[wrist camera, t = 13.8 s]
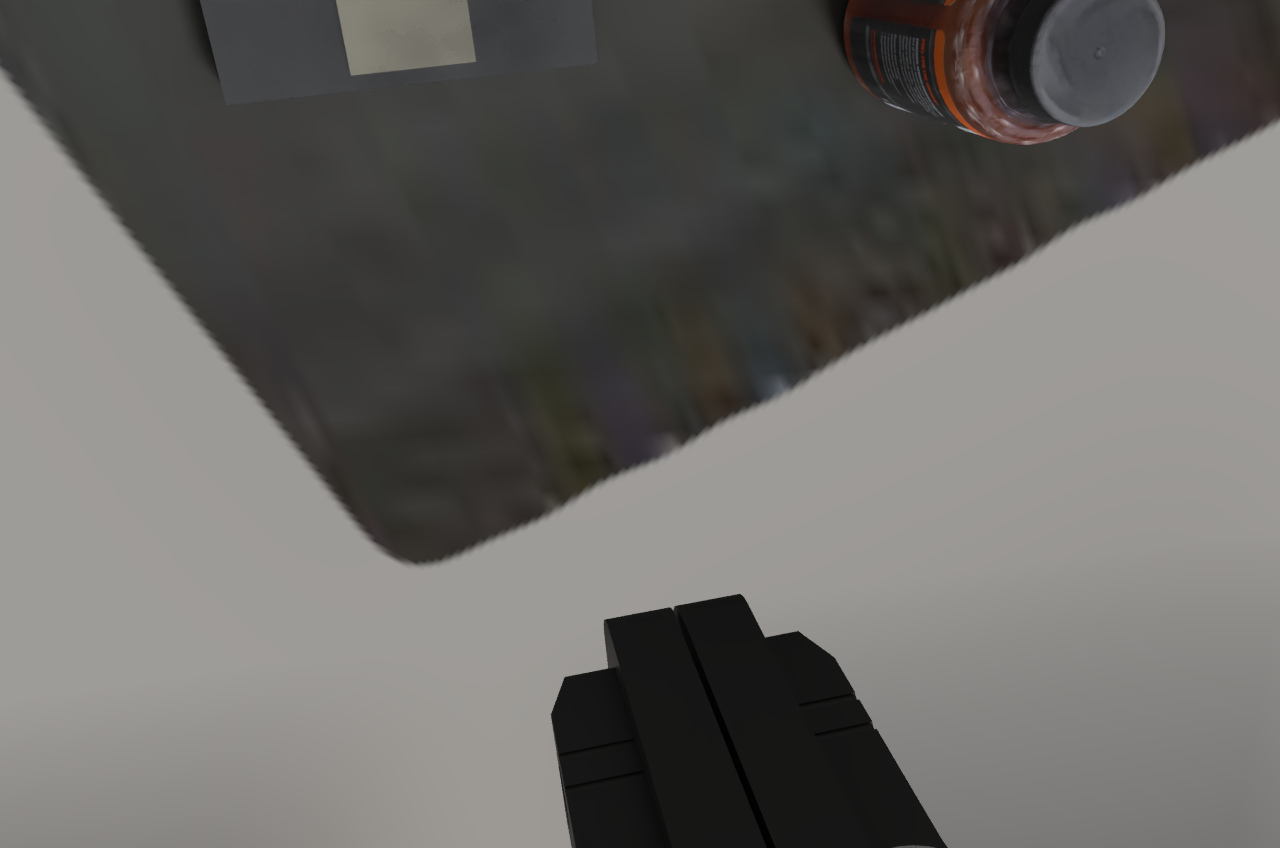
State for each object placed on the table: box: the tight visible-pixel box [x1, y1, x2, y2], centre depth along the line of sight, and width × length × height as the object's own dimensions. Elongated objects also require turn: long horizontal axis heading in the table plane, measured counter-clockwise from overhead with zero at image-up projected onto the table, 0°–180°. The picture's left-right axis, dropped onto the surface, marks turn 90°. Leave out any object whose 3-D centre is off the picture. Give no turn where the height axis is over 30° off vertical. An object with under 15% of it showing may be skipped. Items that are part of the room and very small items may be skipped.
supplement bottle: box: [843, 0, 1165, 145], centre depth 33 cm, size 6×6×11 cm
